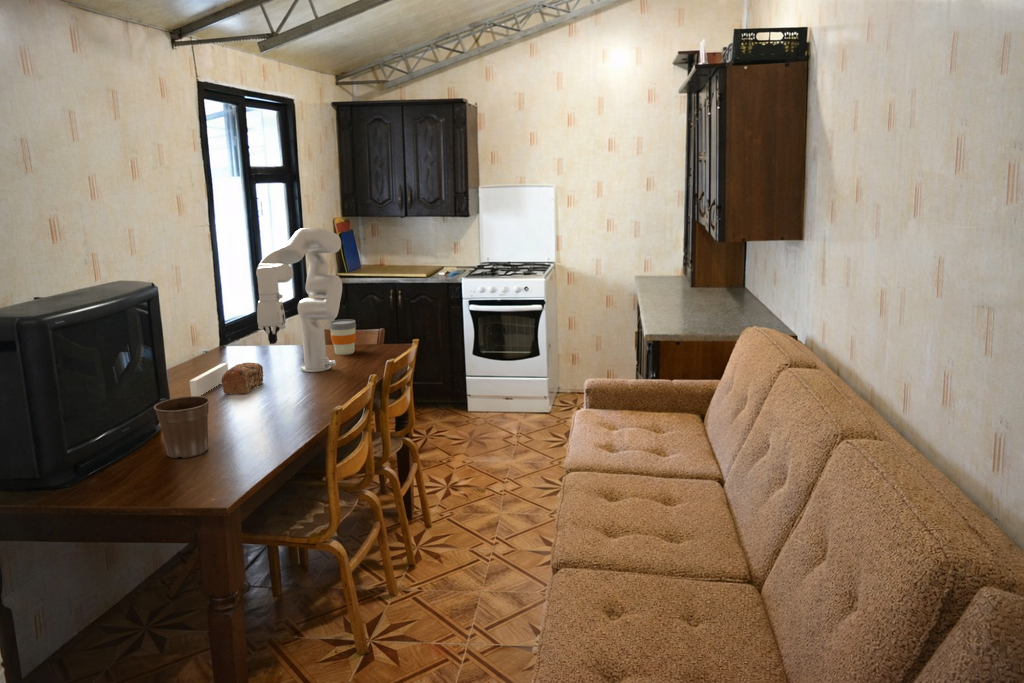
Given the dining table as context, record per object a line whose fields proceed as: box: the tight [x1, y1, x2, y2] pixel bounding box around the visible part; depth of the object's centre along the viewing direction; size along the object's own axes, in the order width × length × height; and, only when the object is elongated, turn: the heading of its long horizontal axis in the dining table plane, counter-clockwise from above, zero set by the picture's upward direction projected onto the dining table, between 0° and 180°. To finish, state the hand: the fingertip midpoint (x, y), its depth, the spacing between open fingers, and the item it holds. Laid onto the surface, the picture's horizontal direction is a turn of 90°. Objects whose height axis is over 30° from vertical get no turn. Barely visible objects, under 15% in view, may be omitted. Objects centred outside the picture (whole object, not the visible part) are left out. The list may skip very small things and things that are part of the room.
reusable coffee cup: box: [329, 318, 357, 356], centre depth 386 cm, size 13×13×15 cm
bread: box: [221, 362, 264, 395], centre depth 327 cm, size 19×11×10 cm, turn 175°
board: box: [189, 362, 229, 397], centre depth 329 cm, size 2×28×7 cm, turn 174°
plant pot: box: [153, 395, 211, 459], centre depth 253 cm, size 16×16×16 cm
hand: (273, 343), depth 323 cm, fingers closed
